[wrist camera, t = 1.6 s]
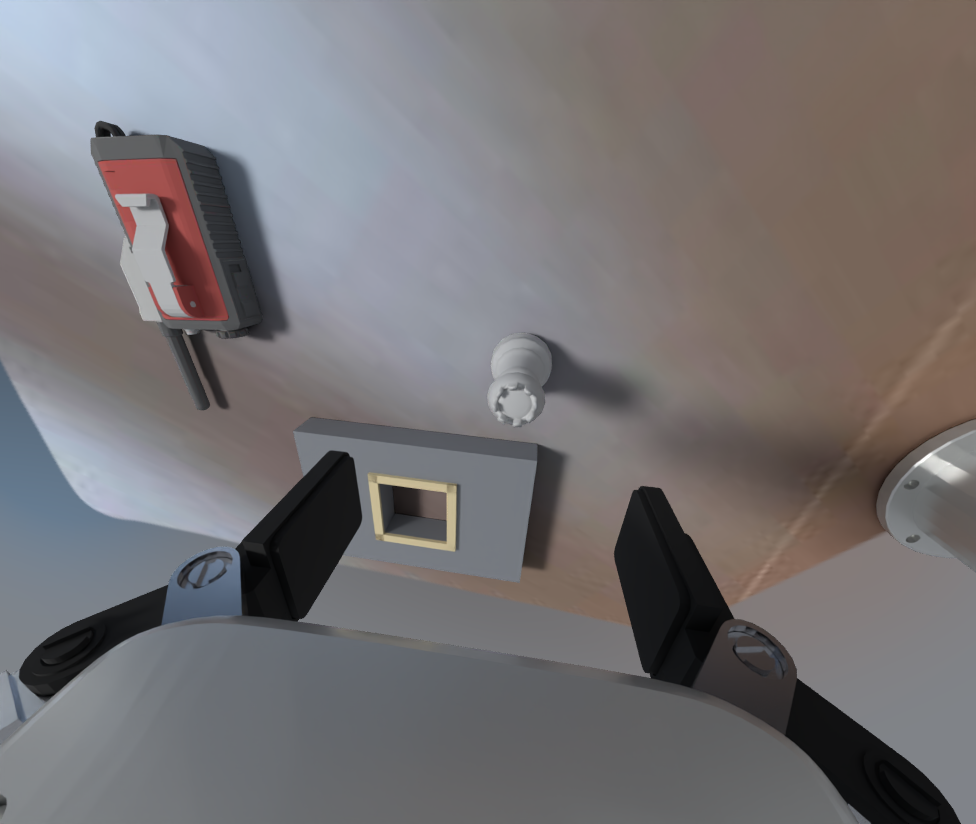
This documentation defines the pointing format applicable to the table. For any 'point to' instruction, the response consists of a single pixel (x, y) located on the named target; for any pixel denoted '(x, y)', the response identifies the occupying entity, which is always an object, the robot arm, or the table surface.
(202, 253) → the red gray switch box
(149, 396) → the table surface
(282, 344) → the table surface
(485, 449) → the socket board
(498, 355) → the rook chess piece
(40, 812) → the robot arm
